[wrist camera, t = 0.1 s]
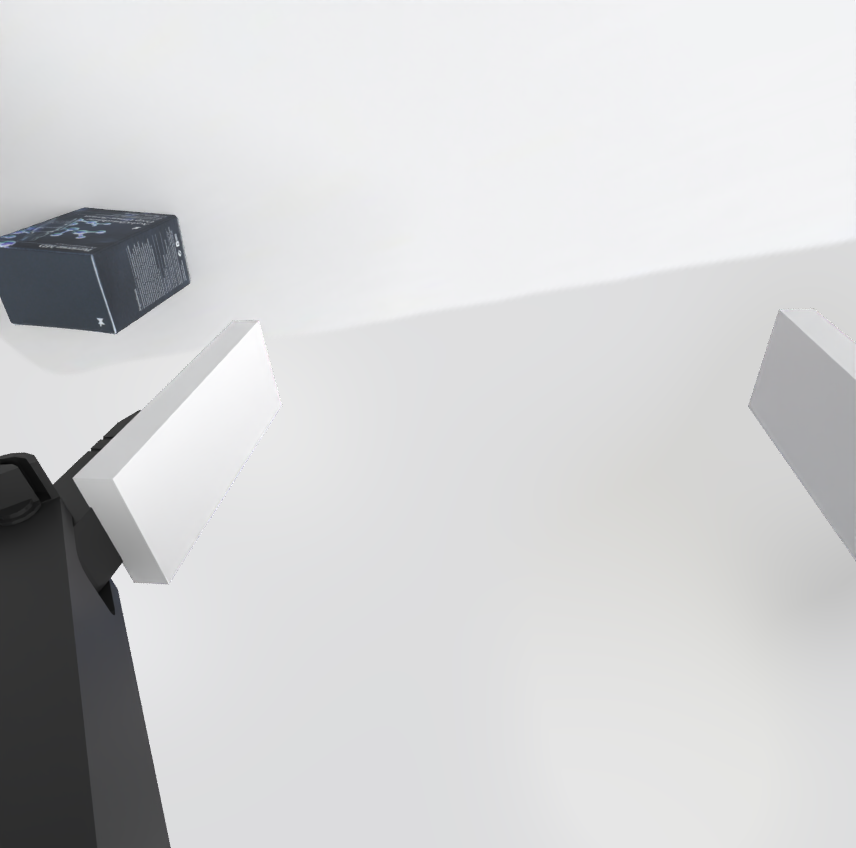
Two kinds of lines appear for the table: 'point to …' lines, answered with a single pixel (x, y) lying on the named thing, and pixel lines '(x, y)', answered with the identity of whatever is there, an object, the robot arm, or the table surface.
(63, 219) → the box
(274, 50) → the table surface
